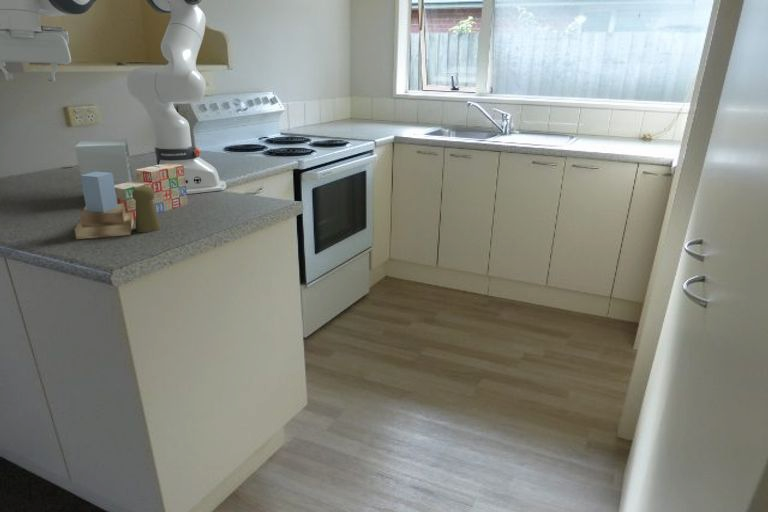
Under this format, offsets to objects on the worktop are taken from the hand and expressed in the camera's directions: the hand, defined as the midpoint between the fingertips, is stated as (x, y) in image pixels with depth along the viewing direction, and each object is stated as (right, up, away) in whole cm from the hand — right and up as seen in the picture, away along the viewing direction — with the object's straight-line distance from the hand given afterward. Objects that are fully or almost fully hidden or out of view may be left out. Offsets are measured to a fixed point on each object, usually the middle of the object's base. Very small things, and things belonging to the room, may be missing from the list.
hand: (31, 80), depth 139 cm
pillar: (+23, -35, -7) cm, 42 cm away
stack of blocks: (+27, -34, +12) cm, 45 cm away
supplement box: (+8, -29, +25) cm, 39 cm away
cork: (+33, -40, -3) cm, 52 cm away
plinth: (+23, -40, -5) cm, 46 cm away
